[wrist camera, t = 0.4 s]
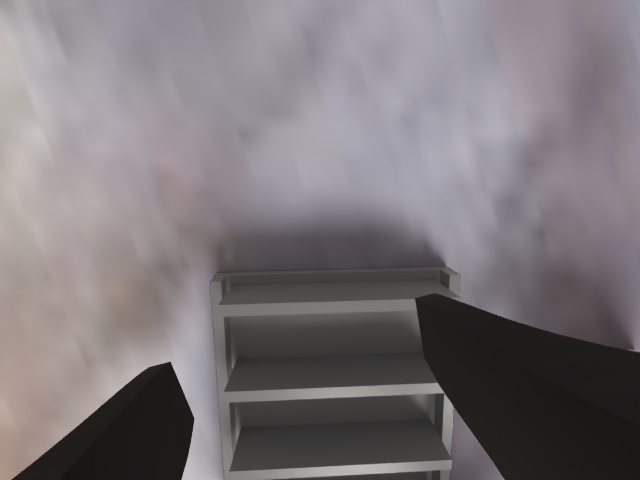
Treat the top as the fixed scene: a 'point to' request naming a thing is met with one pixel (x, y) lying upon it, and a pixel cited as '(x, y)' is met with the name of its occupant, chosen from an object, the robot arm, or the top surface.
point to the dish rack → (329, 375)
